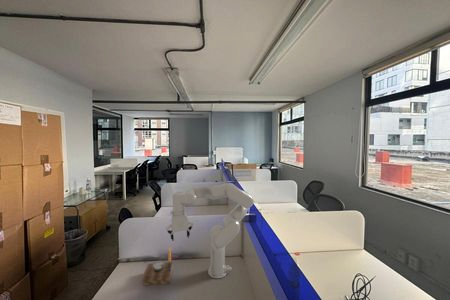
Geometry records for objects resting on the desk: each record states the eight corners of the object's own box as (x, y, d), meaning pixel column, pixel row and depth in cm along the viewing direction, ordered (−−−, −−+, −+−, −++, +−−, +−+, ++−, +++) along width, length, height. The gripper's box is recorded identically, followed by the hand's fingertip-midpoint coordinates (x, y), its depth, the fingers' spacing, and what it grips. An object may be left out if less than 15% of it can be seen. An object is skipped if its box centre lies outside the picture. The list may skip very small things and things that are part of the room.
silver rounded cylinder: (164, 273, 138) (164, 260, 138) (162, 280, 132) (162, 266, 132) (154, 274, 138) (154, 261, 137) (152, 280, 132) (152, 266, 131)
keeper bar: (168, 261, 137) (171, 261, 137) (168, 264, 134) (170, 264, 134) (168, 247, 136) (171, 247, 136) (168, 250, 133) (170, 250, 133)
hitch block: (172, 271, 142) (172, 255, 141) (170, 283, 130) (170, 266, 129) (147, 272, 140) (147, 256, 139) (143, 285, 128) (142, 268, 127)
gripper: (165, 216, 127) (167, 244, 128) (193, 212, 133) (195, 238, 134) (164, 212, 134) (165, 238, 135) (191, 208, 140) (192, 233, 141)
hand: (180, 238), depth 135 cm, fingers open, 9 cm apart
